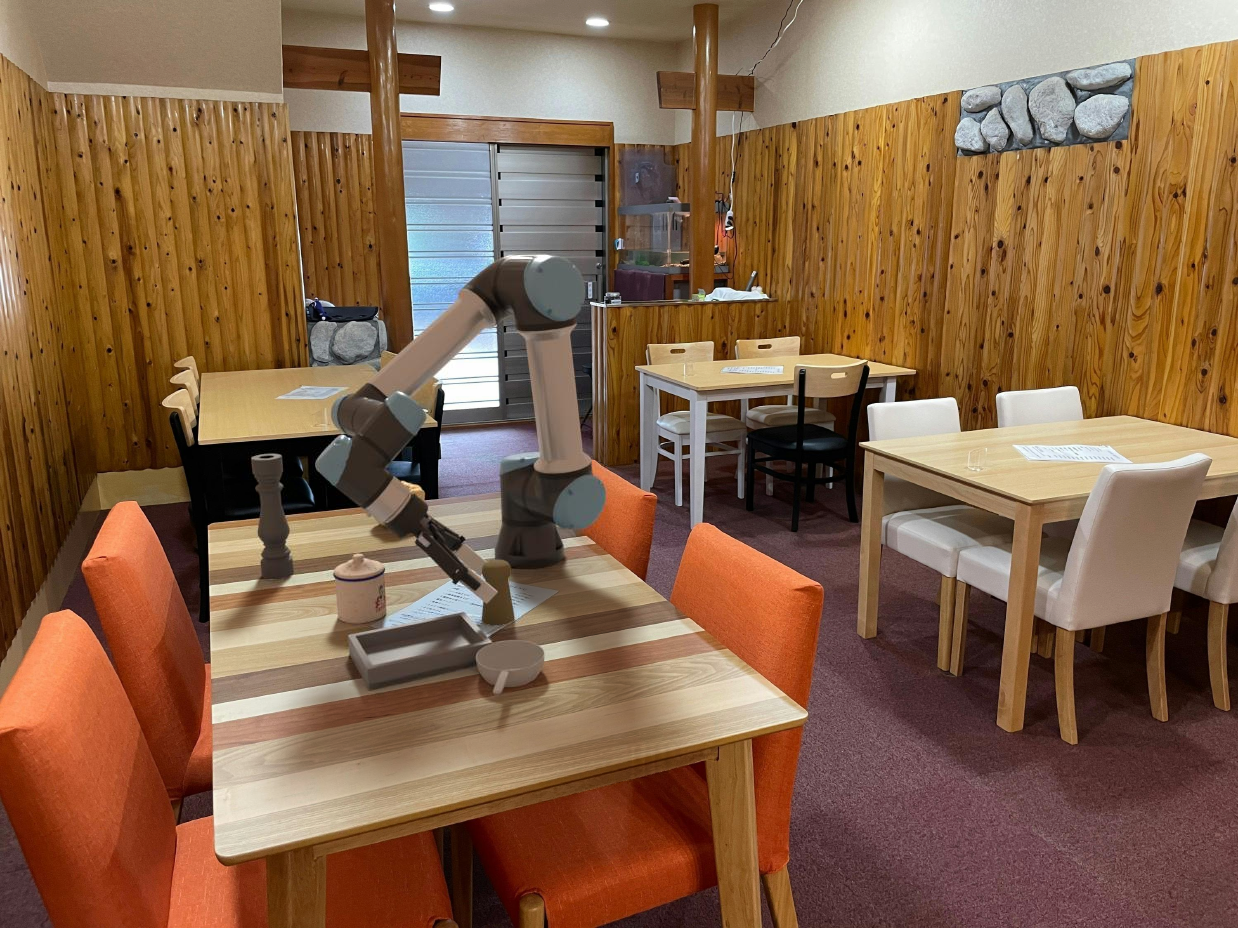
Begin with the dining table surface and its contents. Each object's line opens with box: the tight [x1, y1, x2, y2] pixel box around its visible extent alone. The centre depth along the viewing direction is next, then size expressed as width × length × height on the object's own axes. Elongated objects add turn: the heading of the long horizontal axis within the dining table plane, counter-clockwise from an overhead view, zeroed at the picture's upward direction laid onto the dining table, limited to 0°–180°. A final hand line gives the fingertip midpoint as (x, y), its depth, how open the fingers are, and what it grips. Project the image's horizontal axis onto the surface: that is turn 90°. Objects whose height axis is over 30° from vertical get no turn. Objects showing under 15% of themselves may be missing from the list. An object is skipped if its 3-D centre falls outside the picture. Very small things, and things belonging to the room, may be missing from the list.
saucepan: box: [476, 639, 545, 695], centre depth 136 cm, size 11×18×4 cm, turn 178°
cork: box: [481, 559, 516, 626], centre depth 159 cm, size 6×6×11 cm
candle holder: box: [250, 453, 295, 580], centre depth 179 cm, size 6×6×25 cm
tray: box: [347, 611, 493, 691], centre depth 145 cm, size 20×14×4 cm
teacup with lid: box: [332, 553, 387, 625], centre depth 162 cm, size 12×9×12 cm
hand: (488, 583), depth 158 cm, fingers open, 13 cm apart
